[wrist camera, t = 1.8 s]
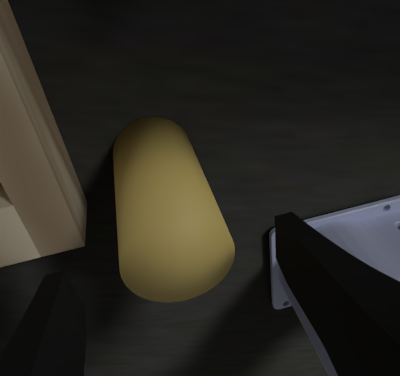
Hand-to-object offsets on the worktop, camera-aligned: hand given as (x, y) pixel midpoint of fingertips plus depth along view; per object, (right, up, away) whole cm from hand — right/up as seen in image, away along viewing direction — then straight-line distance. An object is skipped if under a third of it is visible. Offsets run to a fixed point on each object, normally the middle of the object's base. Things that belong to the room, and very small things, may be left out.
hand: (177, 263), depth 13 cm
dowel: (-2, +4, +7) cm, 8 cm away
